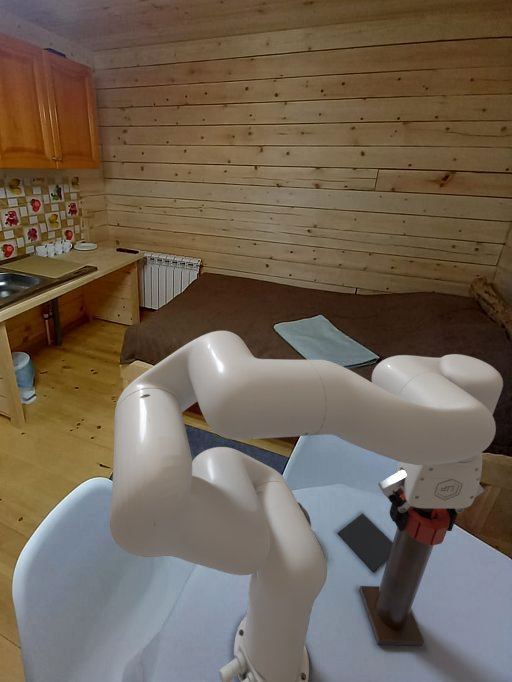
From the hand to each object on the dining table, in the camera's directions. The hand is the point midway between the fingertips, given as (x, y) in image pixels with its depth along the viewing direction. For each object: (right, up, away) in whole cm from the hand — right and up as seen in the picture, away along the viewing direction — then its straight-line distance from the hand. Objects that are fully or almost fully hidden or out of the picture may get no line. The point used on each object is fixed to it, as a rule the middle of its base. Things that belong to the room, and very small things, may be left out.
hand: (419, 521), depth 56 cm
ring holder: (-1, -24, +8) cm, 25 cm away
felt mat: (+1, -20, +21) cm, 29 cm away
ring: (0, 0, 0) cm, 0 cm away
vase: (-15, -19, +22) cm, 33 cm away
